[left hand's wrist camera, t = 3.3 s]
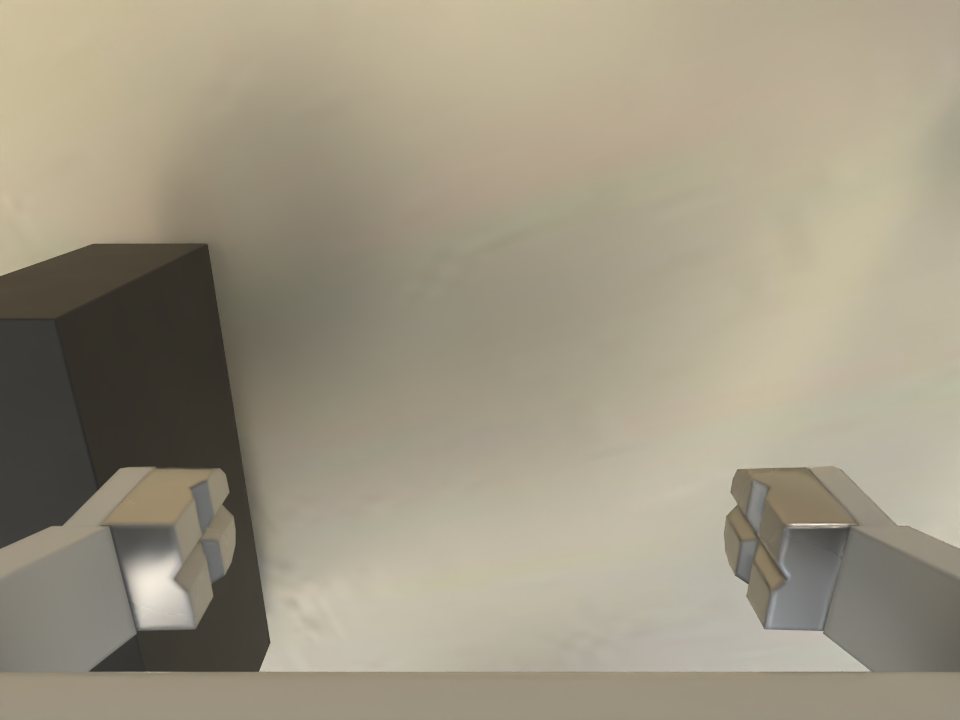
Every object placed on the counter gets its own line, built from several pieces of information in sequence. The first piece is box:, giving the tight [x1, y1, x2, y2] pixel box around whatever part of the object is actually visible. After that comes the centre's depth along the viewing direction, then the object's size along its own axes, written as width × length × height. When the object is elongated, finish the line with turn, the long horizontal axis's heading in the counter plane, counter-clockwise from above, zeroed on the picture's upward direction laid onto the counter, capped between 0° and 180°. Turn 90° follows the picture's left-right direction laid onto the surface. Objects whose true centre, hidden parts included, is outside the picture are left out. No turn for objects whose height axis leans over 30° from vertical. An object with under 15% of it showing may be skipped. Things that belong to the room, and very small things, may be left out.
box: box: [0, 244, 270, 672], centre depth 31 cm, size 26×6×12 cm, turn 0°
